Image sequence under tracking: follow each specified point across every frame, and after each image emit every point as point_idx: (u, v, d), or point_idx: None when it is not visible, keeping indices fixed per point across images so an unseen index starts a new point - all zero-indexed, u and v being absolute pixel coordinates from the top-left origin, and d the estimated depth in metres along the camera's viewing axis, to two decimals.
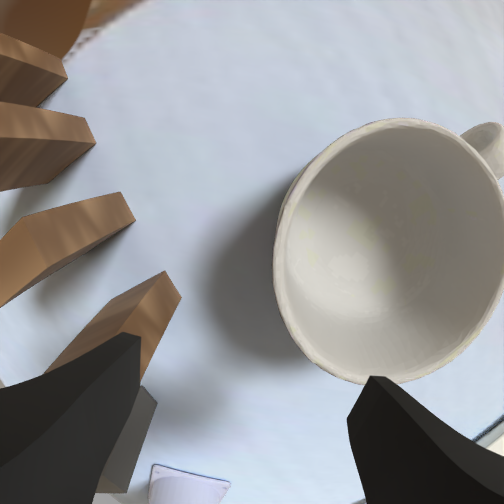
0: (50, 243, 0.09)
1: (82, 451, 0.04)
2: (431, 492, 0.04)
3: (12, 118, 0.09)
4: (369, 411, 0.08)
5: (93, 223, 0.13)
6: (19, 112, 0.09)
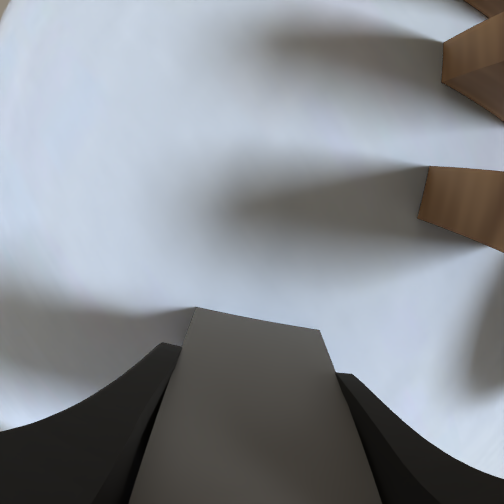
0: None
1: (136, 470, 0.05)
2: (387, 501, 0.04)
3: None
4: None
5: None
6: None
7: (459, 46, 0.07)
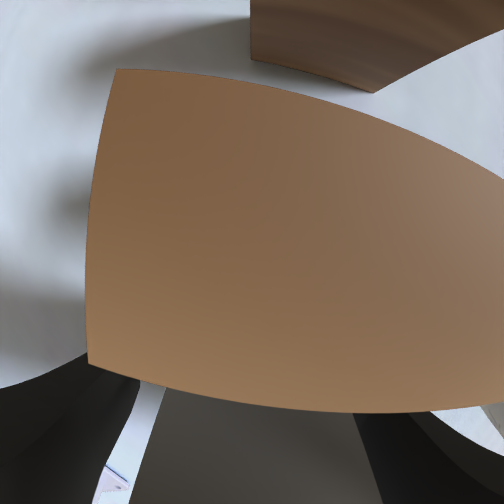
0: None
1: (82, 451, 0.04)
2: (432, 492, 0.04)
3: None
4: None
5: None
6: None
7: None
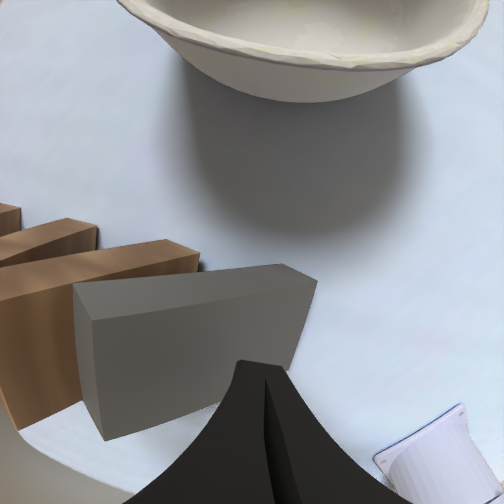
0: None
1: None
2: None
3: None
4: None
5: (18, 243, 0.09)
6: None
7: None
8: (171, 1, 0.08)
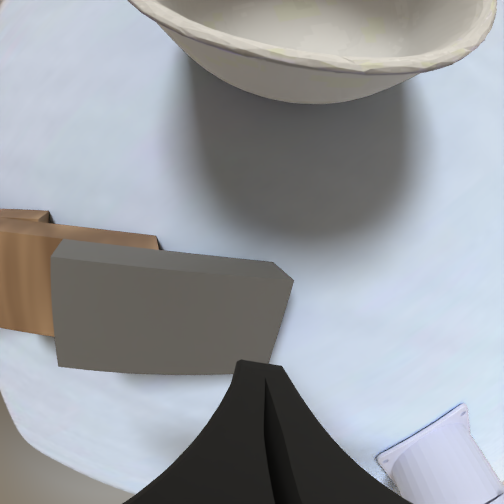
0: None
1: None
2: None
3: None
4: None
5: None
6: None
7: None
8: (177, 0, 0.08)
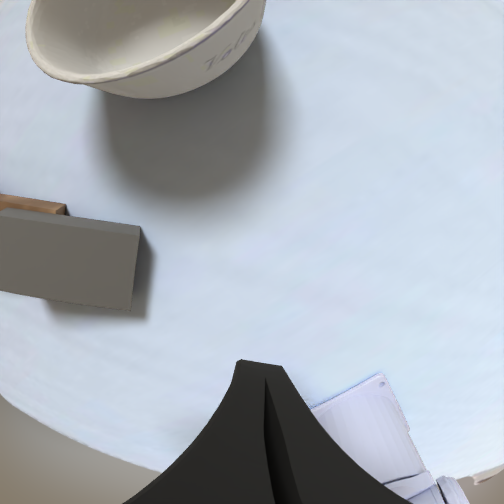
0: None
1: None
2: None
3: None
4: None
5: None
6: None
7: None
8: (88, 36, 0.12)
